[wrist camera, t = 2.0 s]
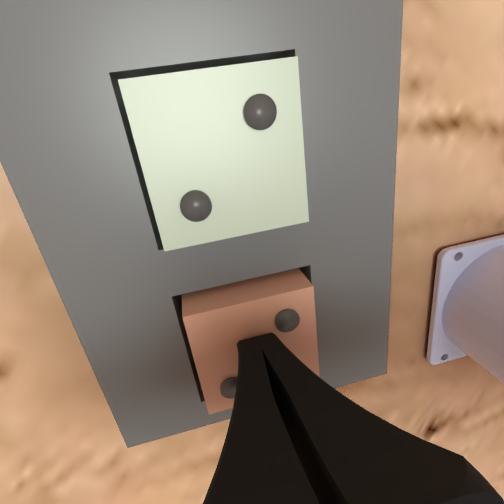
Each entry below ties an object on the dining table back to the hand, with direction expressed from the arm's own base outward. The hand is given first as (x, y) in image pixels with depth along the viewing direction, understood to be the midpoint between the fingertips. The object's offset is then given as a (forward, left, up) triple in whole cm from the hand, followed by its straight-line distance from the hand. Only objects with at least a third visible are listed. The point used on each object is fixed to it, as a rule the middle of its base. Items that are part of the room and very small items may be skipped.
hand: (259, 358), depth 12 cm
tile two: (0, -7, -2) cm, 7 cm away
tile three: (0, 0, -2) cm, 2 cm away
